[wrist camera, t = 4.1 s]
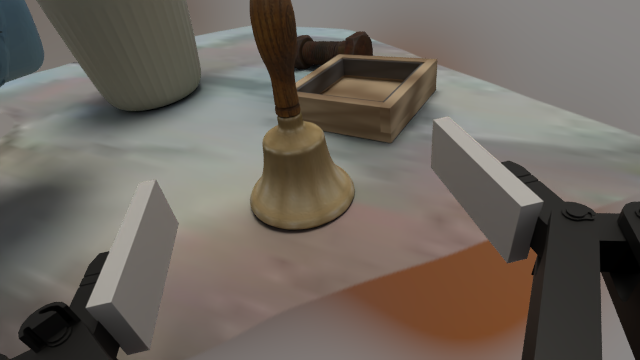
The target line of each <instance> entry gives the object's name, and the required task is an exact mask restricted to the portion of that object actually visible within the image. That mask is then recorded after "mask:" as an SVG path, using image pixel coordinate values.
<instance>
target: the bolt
mask: <svg viewBox="0 0 640 360" xmlns="http://www.w3.org/2000/svg"><path fill="white" fill-rule="evenodd" d="M339 54H343V55H363V56H373V48H372V42H371V39H370V37H368V35H367V34H366V33H365V32H356V33H354V34H353V35H351V36H349V37H347V38H346V40H345V41H342V42H341V41H340V42H334V41H329V42H328V41H327V42H326V41H325V42H324V41H319V42H316V41H315V42H314V41H313V40H312V38H311V37H310V36H309V35H302V36H299V37H297V50H296V58H295V65H294V66H295V67H296V68H297V69H306V68H309V67H310V66H312V65H313V64H314V65H315V64H316V65H324V64H325V63H327V62H328V61H330V60H331V59H333V58H334V57H336V56H337V55H339Z"/></svg>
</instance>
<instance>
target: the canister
mask: <svg viewBox="0 0 640 360" xmlns="http://www.w3.org/2000/svg"><path fill="white" fill-rule="evenodd" d="M36 1H37V2H38V4H39V5H40V7H41V8H42V10H43V11H44V13H45V14H46V16H47V17H48V19H49V20H50V22H51V23H52V25H53V26H54V28H55V29H56V30H57V32H58V33H59V35H60V36H61V38H62V39H63V41H64V42H65V44H66V45H67V47H68V48H69V50H70V51H71V53H72V54H73V56H74V57H75V58H76V60H77V61H78V63H79V64H80V66H81V67H82V69H83V70H84V71H85V73H86V74H87V76H88V77H89V78H90V80H91V81H92V83H93V84H94V85H95V87H96V88H97V90H98V91H99V92H100V94H101V95H102V96H103V97H104V98H105V99H106V100H107V101H108V102H109V103H110V104H111V105H113V106H114V107H116V108H118V109H120V110H125V111H144V110H150V109H154V108H158V107H163V106H165V105H169V104H171V103H174V102H176V101H178V100H181V99H182V98H184V97H186V96H187V95H189V94H190V93H192V92H193V91H194V90H195V89H196V88H197V86H198V85H199V82H200V78H201V68H200V62H199V57H198V52H197V47H196V42H195V37H194V33H193V28H192V24H191V19H190V15H189V11H188V6H187V2H186V0H36Z"/></svg>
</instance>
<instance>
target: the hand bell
mask: <svg viewBox="0 0 640 360" xmlns="http://www.w3.org/2000/svg"><path fill="white" fill-rule="evenodd" d="M250 19H251V24H252V29H253V34H254V38H255V41H256V45H257V48H258V50H259V53H260V55H261V58H262V60H263V62H264V63H265V65H266V68H267V70H268V72H269V75H270V78H271V82H272V88H273V95H274V102H275V105H276V106H275V111H276V114H277V115H278V117H277V119H278V126H275V127H274V128H272V129H271V130H269V131H268V132H267V133H266V135H265V136H264V138H263V153H264V168H263V174H262V177H261V178H260V179H259V180H258V181H257V183H256V184H255V186H254V188H253V191H252V194H251V198H250V204H251V208H252V210H253V212H254V214H255V215H256V216H257V217H258V218H259V219H260V220H261V221H263V222H264V223H266V224H269V225H271V226H274V227H277V228H283V229H307V228H313V227H316V226H320V225H322V224H325V223H327V222H329V221H332V220H333V219H335V218H337V217H338V216H340V215H341V214H342V213H343V212H345V211H346V209H347V208H348V207H349V205H350V204H351V202H352V199H353V197H354V191H355V189H354V184H353V182H352V180H351V178H350V177H349V175H348V174H347V173H346V172H345V171H344V170H343V169H342V168H340V167H339V166H337V165H335V163H334V162H333V161H332V159H331V157H330V154H329V151H328V148H327V145H326V141H325V136H324V132H323V131H322V129H321V128H320V127H319V126H317V125H316V124H314V123H311V122H306V121H303V119H302V113H301V108H300V104H299V99H298V94H297V88H296V83H295V76H294V65H295V58H296V50H297V32H296V23H295V16H294V11H293V7H292V4H291V0H250Z"/></svg>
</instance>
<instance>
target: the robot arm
mask: <svg viewBox="0 0 640 360" xmlns="http://www.w3.org/2000/svg"><path fill="white" fill-rule="evenodd" d="M43 60H44V50H43V46H42V42H41V39H40V37H39V34H38V31H37V28H36V26H35V23H34V21H33V18H32V16H31V14H30V11H29V9H28V7H27V4H26V2H25V0H0V87H1V86H2V85H4V84H5V83H6V82H9V81H12V80H14V79H17V78H20V77H23V76H26V75H29V74H32V73H33V72H35V71H37V70H38V69H39V68H40V67H41V66H42V64H43ZM431 168H432V169H433V171H434V172H435V173H436V174H437V176H438V177H439V178H440V179H441V181H442V182H443V183H444V184H445V186H446V187H447V188H448V189H449V191H450V192H451V193H452V195H453V196H454V197H455V198H456V200H457V201H458V202H459V203H460V205H461V206H462V207H463V208H464V210H465V211H466V212H467V213H468V215H469V216H470V217H471V218H472V220H473V221H474V222H475V223H476V225H477V226H478V227H479V228H480V230H481V231H482V232H483V233H484V235H485V236H486V237H487V238H488V240H489V241H490V242H491V243H492V245H493V246H494V247H495V248H496V250H497V251H498V252H499V253H500V255H501V256H502V257H503V258H504V260H505V261H506V262H507V263H511V262H515V261H519V260H523V259H527V257H528V253H529V250H530V247H531V248H532V249H533V250H534V251H535V252H536V254H537V258H536V262H535V265H534V268H533V271H532V275H534V276H533V284H532V291H531V297H530V304H529V311H528V319H527V325H526V333H525V340H524V347H523V353H522V360H602V335H601V290H600V272H601V273H602V276H603V279H604V281H605V284H606V286H607V289H608V291H609V294H610V296H611V299H612V301H613V304H614V306H615V309H616V312H617V314H618V317H619V319H620V322H621V324H622V327H623V330H624V332H625V335H626V337H627V340H628V342H629V345H630V347H631V350H632V352H633V355H634V357H635V360H640V202H631V203H628V204H626V205H625V206H624V207H623V209H622V211H621V213H620V214H610V213H608V214H607V213H595V212H594V211H593V210H592V209H591V208H589V207H587V206H585V205H582V204H579V203H575V202H564V201H563V200H562V199H561V198H559V197H558V196H557V195H556V194H555V193H553V192H552V191H551V190H550V189H549V188H547V187H546V186H545V185H544V184H543V183H542V182H540V181H538V179H537V178H536V177H534V176H533V175H531V173H530V172H528V171H527V170H526V169H525V168H524V167H522V166H520V165H518V164H516V163H514V162H511V161H506V162H501V163H500V162H499V161H498V160H497V159H496V158H495V157H493V156H492V155H491V154H490V153H489V152H488V151H487V150H486V149H485V148H483V147H482V146H481V145H480V144H479V143H478V142H477V141H476V140H474V139H473V138H472V137H471V136H470V135H469V134H468V133H467V132H466V131H464V130H463V129H462V128H461V127H460V126H459V125H458V124H457V123H455V122H454V121H453V120H452V119H451V118H450V117H449V116H448V117H443V118H439V119H434V120H433V134H432V155H431ZM178 224H179V223H178V221H177V219H176V218H175V216H174V214H173V212H172V210H171V208H170V206H169V204H168V202H167V200H166V198H165V196H164V194H163V192H162V190H161V188H160V186H159V184H158V182H157V180H156V179H155V180H150V181H145V182H141V183H139V184H138V186H137V188H136V191H135V193H134V195H133V198H132V200H131V203H130V205H129V207H128V210H127V212H126V214H125V217H124V219H123V221H122V224H121V226H120V228H119V231H118V233H117V235H116V238H115V240H114V242H113V245H112V247H111V249H110V251H108V252H104V253H100V254H98V256H97V257H96V258H95V259H94V260H93V261H92V262H91V263H90V264H89V266H88V268H87V271H86V273H85V275H84V278H83V279H82V281H81V283H80V285H79V286H80V288H78V290H77V292H76V294H75V296H74V298H73V300H72V302H71V305H70V307H68V306H67V305H66V304H65V303H63V302H54V303H50V304H47V305H45V306H43V307H41V308H40V309H38V310H36V311H35V312H34V313H33V314H31V315H30V316H29V317H28V318H27V319H26V320H25V322H24V323H23V324H22V326H21V328H20V330H19V332H18V334H19V339H20V340H21V341H22V342H23V343H25V344H26V345H27V346H28V347H29V348H30V349H31V350H29V351H27V352H25V353H23V354H21V355H18V356H16V357H14V358H12V359H9V358H8V357H6V356H5V355H3V354H0V360H118V359H117V358H116V357H117V353H118V350H119V347H121V348H122V350H123V351H124V352H125V353H126V354H127V355H130V354H134V353H138V352H142V351H147V350H150V346H151V342H152V338H153V333H154V329H155V324H156V320H157V316H158V311H159V307H160V303H161V298H162V294H163V290H164V285H165V281H166V276H167V272H168V268H169V263H170V259H171V255H172V250H173V246H174V242H175V237H176V233H177V228H178Z"/></svg>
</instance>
